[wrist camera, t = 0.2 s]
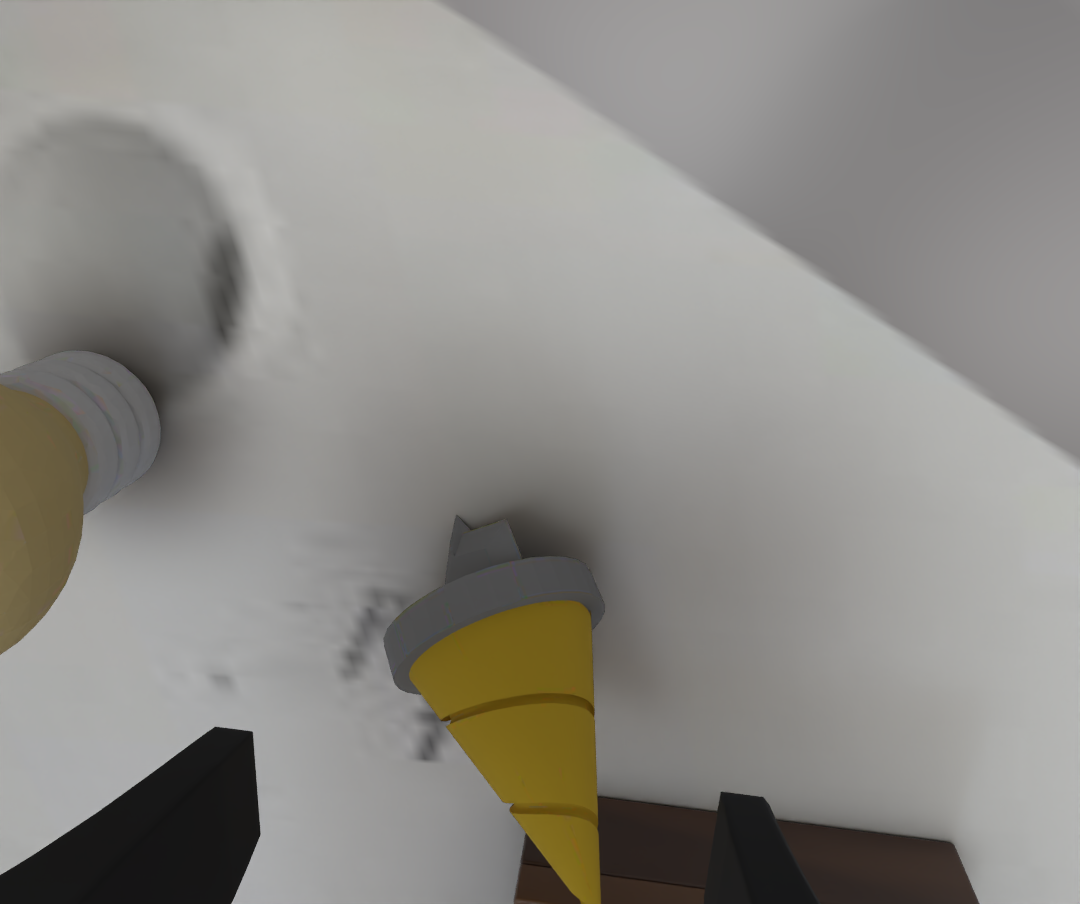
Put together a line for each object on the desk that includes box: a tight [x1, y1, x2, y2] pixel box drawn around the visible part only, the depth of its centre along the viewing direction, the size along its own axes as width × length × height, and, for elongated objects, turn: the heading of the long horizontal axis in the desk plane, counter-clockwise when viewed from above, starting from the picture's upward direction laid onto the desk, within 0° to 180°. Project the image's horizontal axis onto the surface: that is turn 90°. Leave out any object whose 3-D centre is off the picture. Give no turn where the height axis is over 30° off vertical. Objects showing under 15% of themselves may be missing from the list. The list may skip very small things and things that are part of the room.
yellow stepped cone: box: [384, 515, 605, 904], centre depth 20 cm, size 5×5×10 cm
